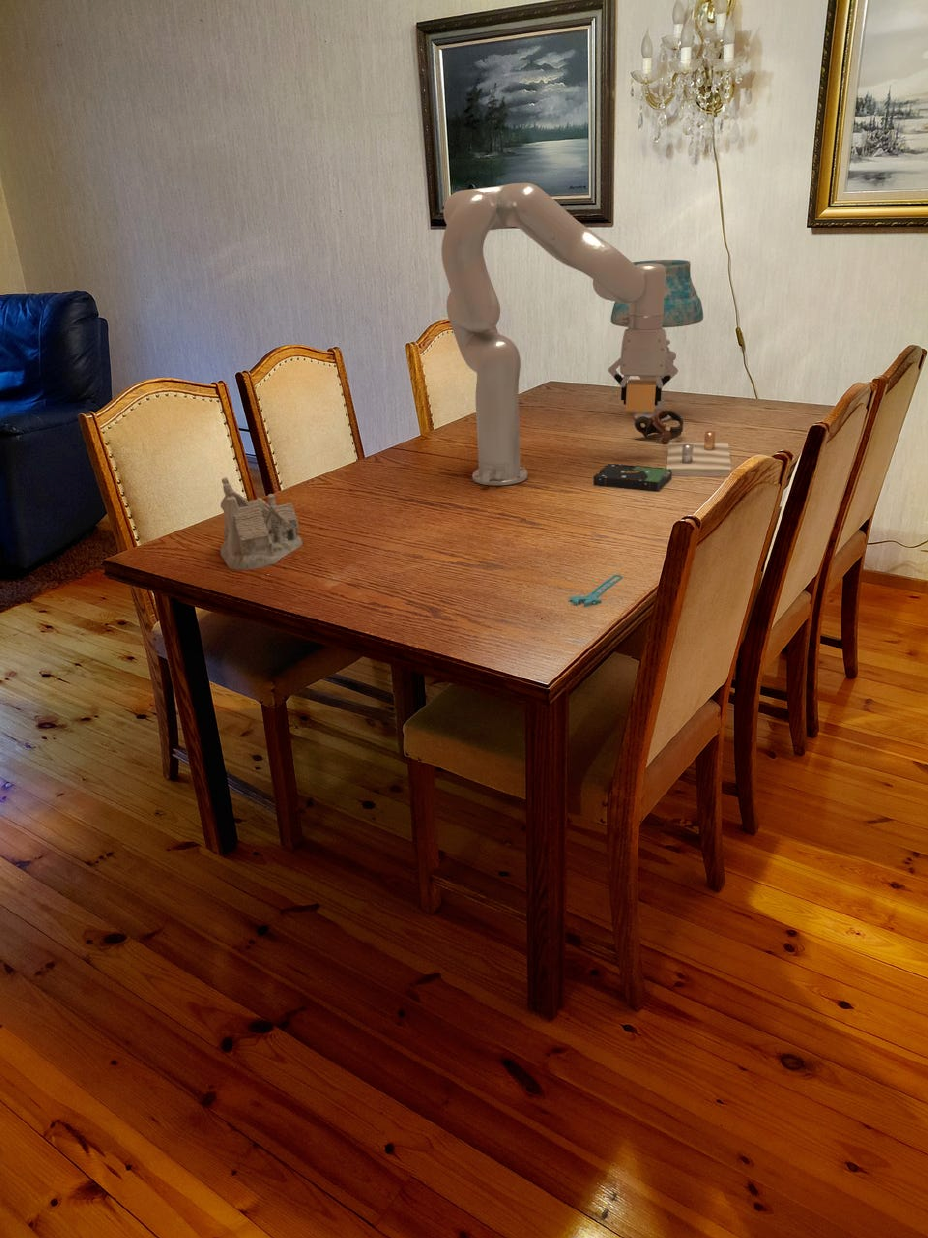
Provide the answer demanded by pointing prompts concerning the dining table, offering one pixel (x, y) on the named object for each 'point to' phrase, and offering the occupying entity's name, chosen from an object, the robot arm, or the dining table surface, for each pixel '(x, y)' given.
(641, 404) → the mustard wooden cube
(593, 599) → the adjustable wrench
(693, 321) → the table lamp
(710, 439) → the copper post
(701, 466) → the birch board
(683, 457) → the steel post
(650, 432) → the brown wheeled mechanism
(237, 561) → the ceramic cottage
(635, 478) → the disk drive
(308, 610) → the dining table surface
